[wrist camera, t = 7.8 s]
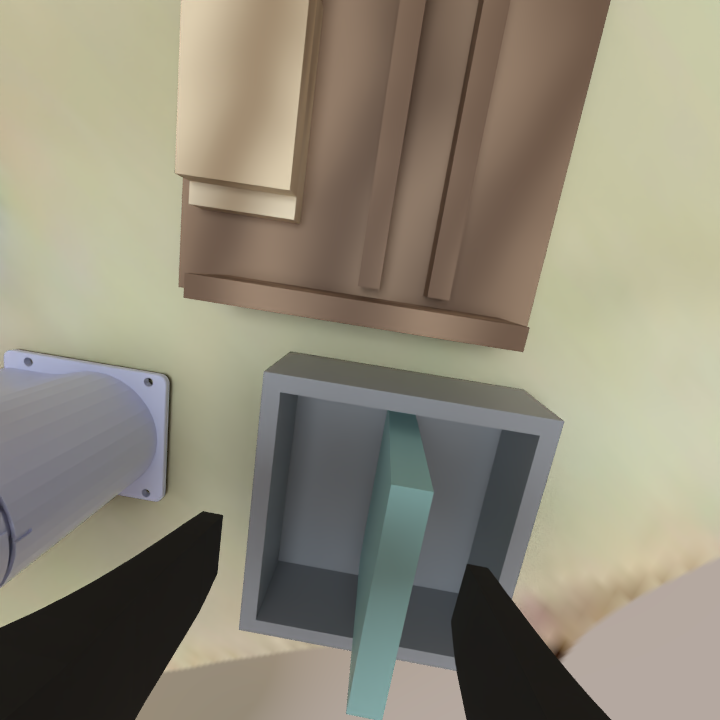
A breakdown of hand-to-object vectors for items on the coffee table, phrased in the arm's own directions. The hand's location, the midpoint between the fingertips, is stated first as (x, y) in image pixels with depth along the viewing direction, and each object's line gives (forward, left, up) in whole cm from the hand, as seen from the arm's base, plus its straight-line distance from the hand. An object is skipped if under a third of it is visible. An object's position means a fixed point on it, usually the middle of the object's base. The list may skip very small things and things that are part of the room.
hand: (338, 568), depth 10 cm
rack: (-1, +15, -10) cm, 19 cm away
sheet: (+2, -3, -10) cm, 11 cm away
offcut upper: (-7, +16, -8) cm, 19 cm away
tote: (+2, -3, -10) cm, 11 cm away
